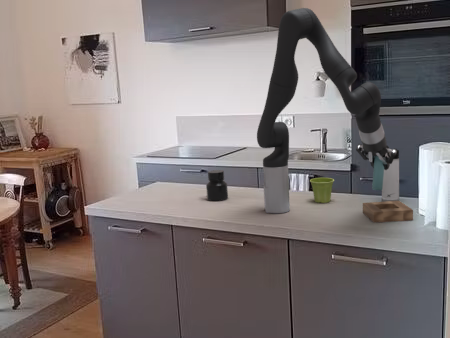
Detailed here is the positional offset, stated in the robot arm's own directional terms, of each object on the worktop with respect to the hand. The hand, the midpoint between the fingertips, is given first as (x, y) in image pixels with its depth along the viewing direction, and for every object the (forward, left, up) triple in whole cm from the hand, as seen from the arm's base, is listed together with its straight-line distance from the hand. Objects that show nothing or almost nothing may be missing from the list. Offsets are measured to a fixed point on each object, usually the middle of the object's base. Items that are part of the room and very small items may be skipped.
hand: (380, 167), depth 169 cm
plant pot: (-16, +23, -17) cm, 32 cm away
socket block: (+1, -3, -17) cm, 17 cm away
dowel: (-2, -2, -7) cm, 8 cm away
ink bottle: (-58, +38, -17) cm, 71 cm away
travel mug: (+9, +17, -17) cm, 25 cm away
